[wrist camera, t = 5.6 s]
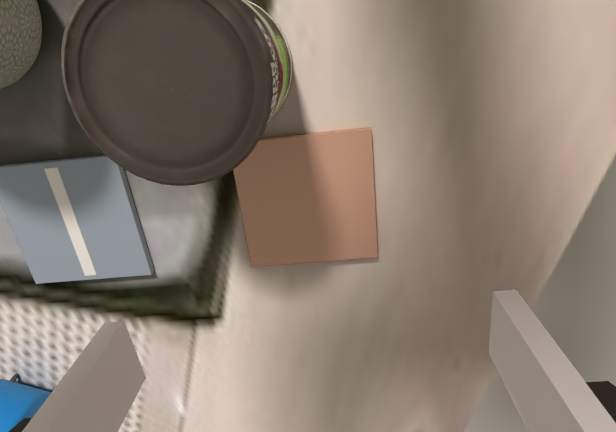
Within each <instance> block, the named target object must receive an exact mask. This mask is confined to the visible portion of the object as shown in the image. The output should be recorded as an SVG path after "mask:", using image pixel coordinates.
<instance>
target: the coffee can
mask: <svg viewBox="0 0 616 432" xmlns="http://www.w3.org/2000/svg"><path fill="white" fill-rule="evenodd" d="M61 71H62V79H63V85H64V89H65V92H66V95H67V99H68V102H69V104H70V106H71V109H72V111H73V113H74V115H75V117H76V119H77V121H78V122H79V124H80V126H81V127H82V129H83V130H84V132H85V133H86V135H87V136H88V137H89V139H90V140H91V141H92V142H93V143H94V144H95V145H96V146H97V147H98V148H99V149H100V150H101V151H102V152H103V153H104V154H105V155H106V156H107V157H108V158H109V159H111V160H112V161H113V162H115V163H116V164H117V165H119V166H121V167H122V168H124V169H125V170H127V171H129V172H131V173H132V174H134V175H136V176H139V177H141V178H144V179H146V180H149V181H152V182H156V183H160V184H166V185H178V186H183V185H195V184H201V183H205V182H209V181H212V180H215V179H217V178H219V177H222V176H223V175H225V174H227V173H229V172H230V171H232V170H233V169H235V168H236V167H237V166H238V165H240V164H241V163H242V162H243V161H244V160H245V159H246V158H247V157H248V155H249V154H250V153H251V152H252V151H253V149H254V148H255V146H256V145H257V143H258V142H259V140H260V138H261V136H262V134H263V132H264V130H265V128H266V125H267V124H268V122H269V121H270V119H271V118H272V117H273V116H274V115H275V114H276V112H277V111H278V110H279V109H280V107H281V106H282V104H283V103H284V101H285V99H286V97H287V94H288V92H289V89H290V85H291V79H292V71H293V69H292V57H291V53H290V49H289V46H288V43H287V40H286V38H285V36H284V34H283V32H282V30H281V29H280V27H279V26H278V24H277V23H276V22H275V20H274V19H273V18H272V17H271V16H270V15H269V14H268V13H267V12H266V11H264V10H263V9H262V8H260V7H259V6H257V5H256V4H254V3H252V2H250V1H248V0H79V1H78V2H77V3H76V5H75V7H74V8H73V10H72V13H71V15H70V17H69V19H68V22H67V25H66V28H65V31H64V35H63V40H62V48H61Z"/></svg>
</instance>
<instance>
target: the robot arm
mask: <svg viewBox="0 0 616 432" xmlns="http://www.w3.org/2000/svg"><path fill="white" fill-rule="evenodd" d="M489 356H490V358H491V360H492V362H493V364H494V366H495V368H496V370H497V372H498V373H499V375H500V377H501V379H502V381H503V383H504V385H505V387H506V389H507V391H508V393H509V395H510V397H511V399H512V401H513V403H514V405H515V407H516V409H517V411H518V413H519V415H520V417H521V419H522V421H523V422H524V424H525V426H526V428H527V430H528V432H616V387H615V386H614V385H613V384H611V383H610V382H609V381H603V382H585V381H584V380H583V378H582V377H581V376H580V374H579V373H578V372H577V370H576V369H575V368H574V366H573V365H572V364H571V362H570V361H569V360H568V358H567V357H566V356H565V354H564V353H563V352H562V350H561V349H560V348H559V346H558V345H557V344H556V342H555V341H554V340H553V338H552V337H551V336H550V334H549V333H548V332H547V330H546V329H545V328H544V326H543V325H542V323H541V322H540V321H539V319H538V318H537V317H536V315H535V314H534V313H533V311H532V310H531V309H530V307H529V306H528V305H527V303H526V302H525V301H524V299H523V298H522V297H521V295H520V294H519V293H518V291H517V290H516V289H515V290H503V291H493V296H492V310H491V325H490V340H489ZM145 378H146V377H145V374H144V371H143V369H142V366H141V364H140V361H139V358H138V356H137V353H136V351H135V348H134V345H133V343H132V340H131V337H130V335H129V332H128V330H127V327H126V324H125V322H124V321H122V322H109V323H104V324H103V326H102V327H101V328H100V330H99V331H98V332H97V333H96V335H95V336H94V337H93V339H92V340H91V341H90V343H89V344H88V345H87V347H86V348H85V349H84V351H83V352H82V353H81V355H80V356H79V357H78V358H77V360H76V361H75V362H74V364H73V365H72V366H71V368H70V369H69V370H68V372H67V373H66V374H65V376H64V377H63V378H62V380H61V381H60V382H59V383H58V385H57V386H56V387H55V389H54V390H53V391H52V393H51V394H50V395H49V397H48V398H47V399H46V401H45V402H44V403H43V405H42V406H41V407H40V408H39V410H38V411H37V412H36V414H35V415H34V416H33V418H24V419H23V420H22V421H20V422H19V423H18V424H17V425H16V426H15V427H13V428H12V429H11V430H10V431H9V432H118V430H119V428H120V426H121V424H122V422H123V420H124V418H125V417H126V415H127V413H128V411H129V409H130V407H131V405H132V403H133V401H134V399H135V397H136V395H137V393H138V392H139V390H140V388H141V386H142V384H143V382H144V380H145Z"/></svg>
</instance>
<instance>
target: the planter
mask: <svg viewBox="0 0 616 432" xmlns="http://www.w3.org/2000/svg"><path fill="white" fill-rule="evenodd" d="M41 40H42V21H41V14H40V10H39V6H38V3H37V0H0V89H2V88H4V87H7V86H9V85H11V84H12V83H14V82H16V81H17V80H19V79H20V78H21V77H22V76H24V75H25V74H26V73H27V72H28V70H29V69H30V68H31V66H32V65H33V63H34V62H35V60H36V58H37V55H38V53H39V50H40V46H41Z"/></svg>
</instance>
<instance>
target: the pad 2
mask: <svg viewBox="0 0 616 432" xmlns="http://www.w3.org/2000/svg"><path fill="white" fill-rule="evenodd" d="M233 172H234V177H235V182H236V187H237V193H238V198H239V203H240V208H241V214H242V219H243V224H244V229H245V234H246V240H247V245H248V250H249V255H250V261H251V266H252V267H258V266H271V265H284V264H296V263H309V262H322V261H335V260H348V259H361V258H374V257H378V252H377V232H376V212H375V191H374V171H373V151H372V131H371V128H361V129H351V130H341V131H331V132H322V133H312V134H302V135H292V136H283V137H273V138H263V139H260V140H259V142H258V143H257V145H256V146H255V148H254V149H253V151H252V152H251V153H250V154H249V155H248V157H247V158H246V159H245V160H244V161H243V162H242V163H241V164H240V165H238V166H237V167H236V168H235V169H233Z"/></svg>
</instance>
